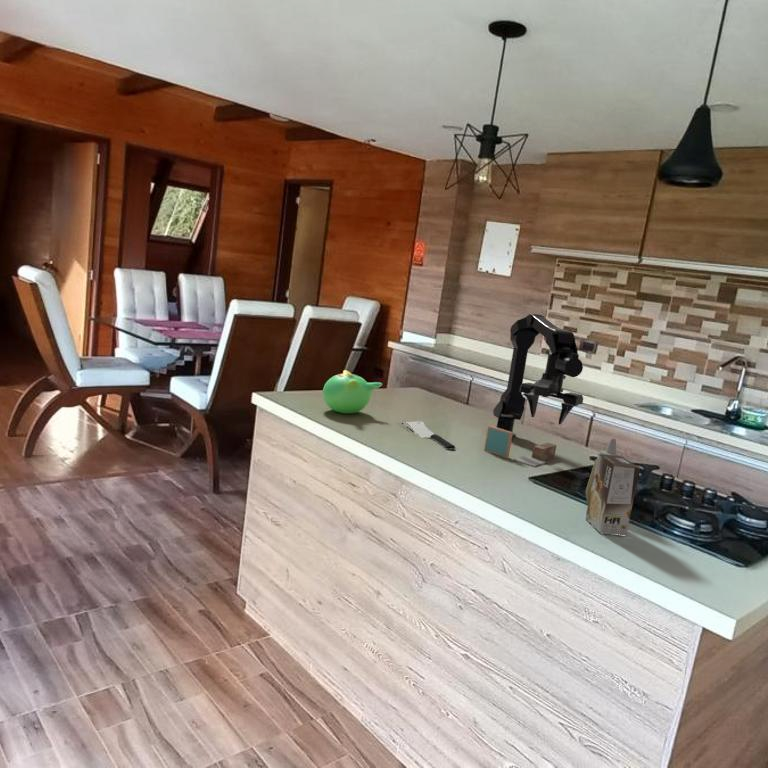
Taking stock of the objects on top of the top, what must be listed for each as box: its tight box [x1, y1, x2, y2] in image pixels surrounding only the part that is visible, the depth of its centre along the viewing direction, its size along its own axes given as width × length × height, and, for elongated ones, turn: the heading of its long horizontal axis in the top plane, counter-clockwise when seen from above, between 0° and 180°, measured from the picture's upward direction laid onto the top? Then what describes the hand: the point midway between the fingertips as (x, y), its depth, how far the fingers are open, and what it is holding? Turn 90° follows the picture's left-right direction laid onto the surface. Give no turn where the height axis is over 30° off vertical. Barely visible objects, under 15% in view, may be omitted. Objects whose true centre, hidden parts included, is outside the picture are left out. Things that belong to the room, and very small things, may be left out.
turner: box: [512, 442, 557, 468], centre depth 196 cm, size 18×7×4 cm, turn 140°
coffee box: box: [585, 453, 641, 536], centre depth 143 cm, size 9×6×16 cm
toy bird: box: [322, 369, 383, 415], centre depth 222 cm, size 18×17×15 cm
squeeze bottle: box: [585, 437, 621, 504], centre depth 156 cm, size 8×8×18 cm
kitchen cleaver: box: [406, 420, 456, 451], centre depth 207 cm, size 31×2×10 cm
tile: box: [483, 425, 514, 459], centre depth 195 cm, size 1×8×8 cm, turn 50°
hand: (546, 420), depth 196 cm, fingers open, 9 cm apart
